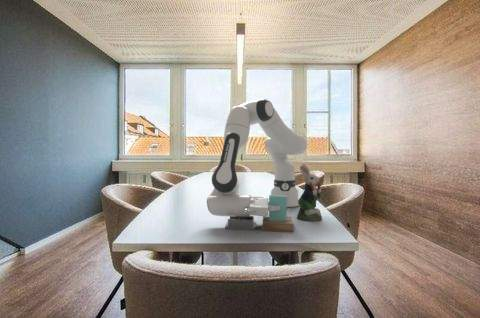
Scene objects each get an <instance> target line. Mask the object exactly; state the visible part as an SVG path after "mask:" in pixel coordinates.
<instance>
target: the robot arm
mask: <svg viewBox="0 0 480 318" xmlns="http://www.w3.org/2000/svg"><path fill="white" fill-rule="evenodd" d="M256 124H258V125H259V126H260V128H261V129H262V131H263V132H264V134H265V135H266V136H267V137H266V139H265V140H264V149H265V151H266V152H267V154H269V156H271V159H272V161H273V166H274V180H273V188H271V191H270V195H286V196H287V207H286V208H293V207H294V208H295V207H300V205H299V204H298V200H299V190H298V189H297V186H296V185H297V180H296V166H295V164H294V163H293V162H291V160H289V157H288V156H297V155H301V154H302V155H303V154H304V153H305V152H306V150H307V147H308V142H307V139H306V138H305V136H303V135H300V134H298V133H297V132H294V131H293V130H292V129H291V128H290V127H288V126H287V125H286V124H285V122H284V120H283V119H282V118H281V116H280V115H279V113H278V111H277V110H276V109H275V107H274V105H273V103H272V102H271V101H270V100H269V99H266V98H259V99H255V100H249V101H247V102H244V103H242V104H241V103H240V104H237V105H235V106H233V107H232V108H231V109H230V112H229V113H228V116H227V119H226V123H225V127H224V132H223V133H224V134H223V147H222V151H221V157H220V160H219V163H218V166H217V167H216V168H215V170H214V171H213V173H212V176H211V184H212V186H213V187H214V188H213V190H212V191H211V193H210V194H209V196H207V198H206V206H207V211H208V213H210V215H212V216H218V217H230V216H237V217H250V216H254V217H256V216H257V217H263V216H269V211H275V210H280V206H279V205H276V206H271V205H269V197H263V196H252V195H251V194H248V195H247V194H246V195H245V194H243V195H241V194H238V193H239V190H240V182H239V179H238V176H237V172H236V163H237V159H238V153H239V151H240V149H242V148H244V147H245V146H246V145H247V143H248V139H249V135H250V129H251V125H256Z"/></svg>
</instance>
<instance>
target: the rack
mask: <svg viewBox="0 0 480 318" xmlns="http://www.w3.org/2000/svg"><path fill="white" fill-rule="evenodd" d="M254 217H255V216H254V215H250V217H237V216H229V218H228V219H227V222H226V223H225V225H224V229H225V230H242V231H243V230H246V231H247V230H248V231H256V227H257V226H256V225H257V221H255V220H254Z"/></svg>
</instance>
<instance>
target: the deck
mask: <svg viewBox="0 0 480 318" xmlns="http://www.w3.org/2000/svg"><path fill="white" fill-rule="evenodd" d="M261 229H262V232H286V233H293V232H294V222H293V218H292V216H286V221H269V215H268V216H262V228H261Z"/></svg>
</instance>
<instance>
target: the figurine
mask: <svg viewBox="0 0 480 318" xmlns="http://www.w3.org/2000/svg"><path fill="white" fill-rule="evenodd" d="M299 171H301V172H300V173H301V175H302V176H303V177H305V178H304V182H305V183H304V185H305V186H304V188H303V189H304V190H303V192H302V194H301V196H300V197H299V198H298V204H299V205H300V206H299V210H298V213H297V215H296V216H297V217H296V218H297V219H298V220H301V221H305V222H318V221H317V220H320V221H322V219H323V216H322V213H321V210H320V209H319V208H318V207H317V201H319V200H321V192H322V189H321V188H322V184H321V180H320V177H319V176H317V175H316V174H314V173H311V171H310V169H309V167H308V165H306V164H305V163H303V164H302V165H300V167H299ZM316 185H317V186H316ZM316 207H317V208H316Z"/></svg>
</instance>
